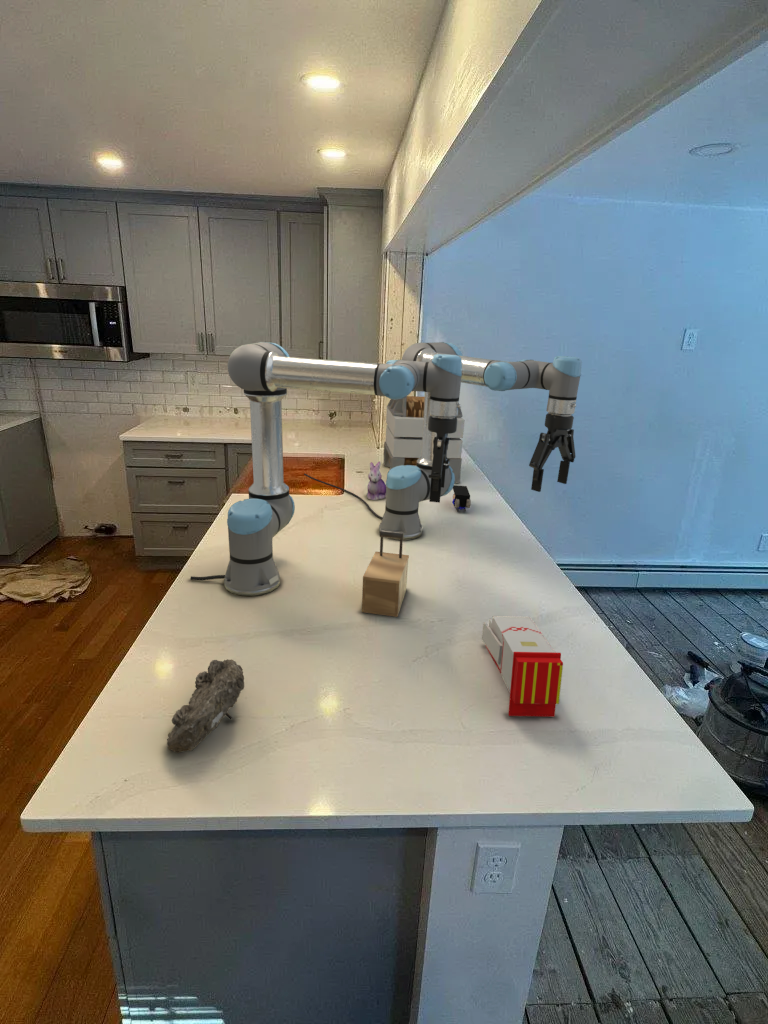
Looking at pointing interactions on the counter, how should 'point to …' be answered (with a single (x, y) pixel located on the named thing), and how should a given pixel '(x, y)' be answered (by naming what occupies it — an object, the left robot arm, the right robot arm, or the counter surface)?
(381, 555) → the lid
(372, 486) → the figurine
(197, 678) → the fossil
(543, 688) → the toy
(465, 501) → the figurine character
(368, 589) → the chest
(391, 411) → the grey boxy piece
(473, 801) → the counter surface
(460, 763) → the counter surface
